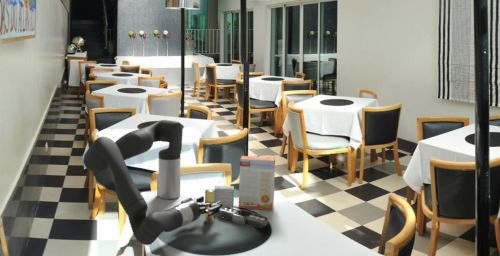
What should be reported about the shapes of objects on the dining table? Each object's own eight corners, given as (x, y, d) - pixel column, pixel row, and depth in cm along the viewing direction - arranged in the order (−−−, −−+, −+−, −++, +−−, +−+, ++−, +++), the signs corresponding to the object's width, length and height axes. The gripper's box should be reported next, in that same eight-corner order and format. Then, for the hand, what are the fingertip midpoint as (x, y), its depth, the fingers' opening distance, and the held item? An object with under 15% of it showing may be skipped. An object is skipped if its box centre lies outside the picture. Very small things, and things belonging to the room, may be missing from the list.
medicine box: (233, 205, 187) (234, 185, 186) (233, 209, 183) (234, 189, 181) (214, 205, 187) (214, 185, 185) (213, 209, 183) (214, 188, 181)
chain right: (245, 224, 168) (245, 216, 168) (252, 220, 172) (252, 212, 172) (261, 228, 165) (261, 221, 164) (268, 224, 169) (268, 217, 168)
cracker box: (273, 205, 189) (275, 157, 185) (272, 210, 183) (274, 160, 179) (240, 202, 191) (242, 154, 187) (238, 207, 185) (239, 158, 181)
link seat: (232, 221, 170) (232, 214, 170) (242, 216, 176) (242, 209, 175) (244, 225, 168) (244, 217, 167) (253, 219, 173) (253, 212, 173)
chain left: (218, 216, 175) (219, 209, 174) (226, 213, 179) (226, 206, 178) (233, 221, 171) (234, 213, 171) (240, 217, 175) (241, 209, 175)
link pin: (202, 221, 170) (203, 190, 168) (208, 218, 173) (209, 188, 170) (210, 223, 168) (210, 192, 166) (215, 220, 171) (216, 190, 169)
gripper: (168, 219, 161) (197, 206, 175) (200, 229, 154) (227, 214, 167) (168, 199, 160) (197, 187, 173) (200, 208, 152) (227, 195, 166)
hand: (212, 201), depth 170 cm, fingers open, 8 cm apart
